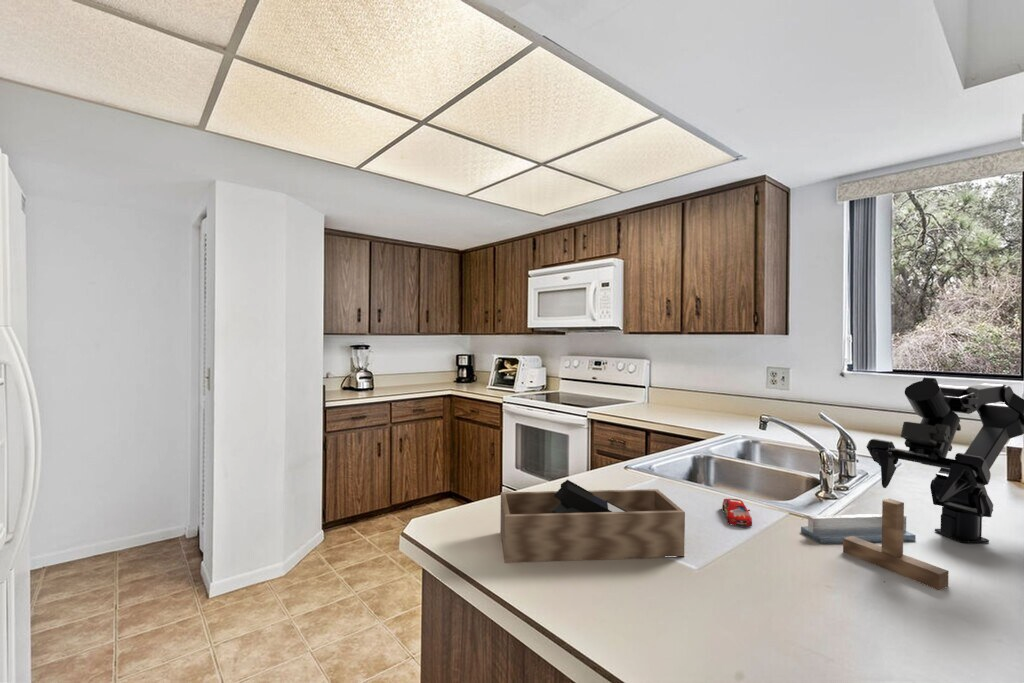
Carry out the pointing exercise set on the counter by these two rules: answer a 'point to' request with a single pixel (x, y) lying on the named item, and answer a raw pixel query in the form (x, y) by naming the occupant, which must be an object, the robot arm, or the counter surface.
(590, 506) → the toy gun
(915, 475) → the counter surface
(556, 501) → the box
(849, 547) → the wooden t-shaped stand
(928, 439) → the robot arm
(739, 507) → the race car
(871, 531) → the ridge stand
